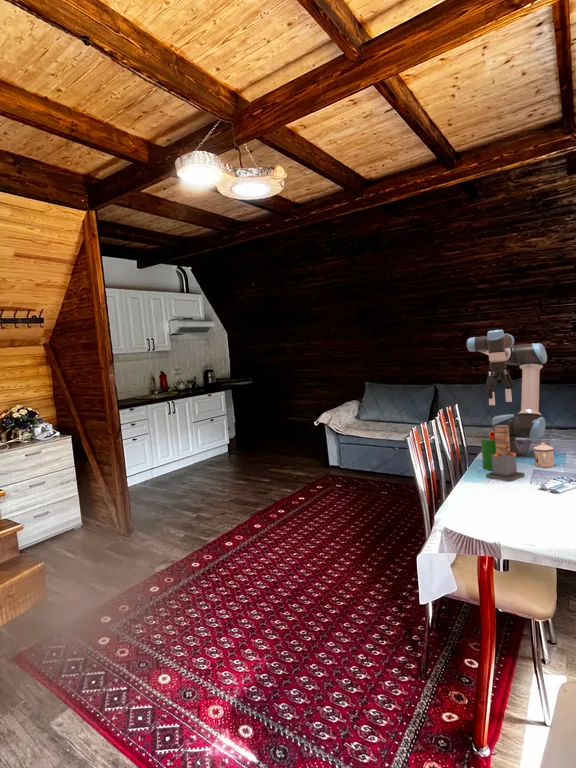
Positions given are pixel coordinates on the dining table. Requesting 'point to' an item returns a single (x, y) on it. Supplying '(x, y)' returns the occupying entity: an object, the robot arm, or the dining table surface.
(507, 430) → the column
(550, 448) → the teacup with lid
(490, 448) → the motor
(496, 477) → the stand base
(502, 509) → the dining table surface
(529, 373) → the robot arm
